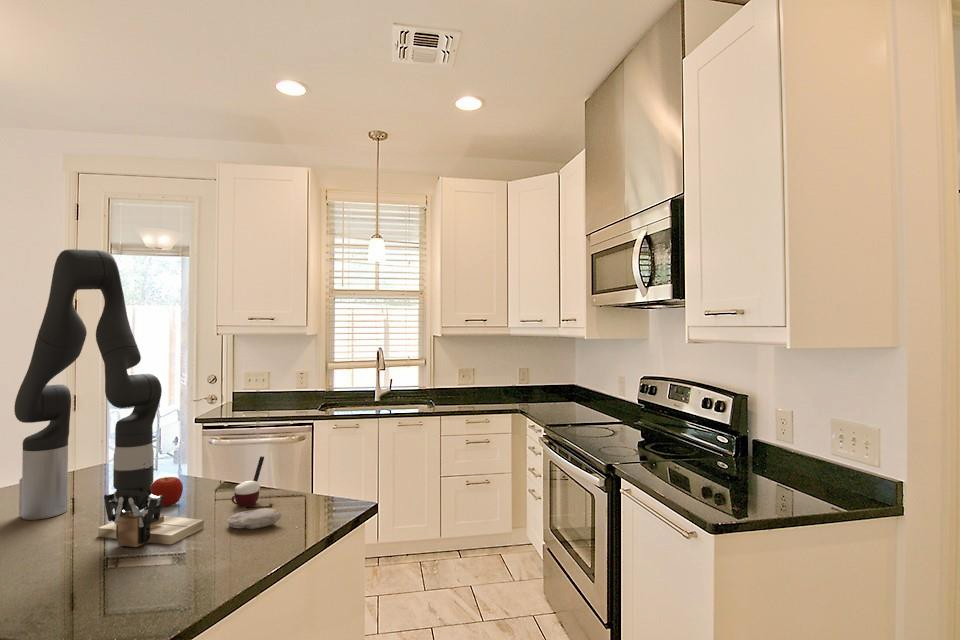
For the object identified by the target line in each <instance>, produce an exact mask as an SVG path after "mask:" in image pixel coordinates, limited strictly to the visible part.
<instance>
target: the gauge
mask: <svg viewBox="0 0 960 640" xmlns="http://www.w3.org/2000/svg"><path fill="white" fill-rule="evenodd" d="M164 516H165V515H160V517H159V521H157V522H154V523H152V524H151V525H150V528H151V527H153V526H156V525H158V524H160V523H162V522H164ZM143 518H144V520H145V516H144V515H143ZM138 527H139V524H138V519H137V518H135V517H134V514H133V512H130V513H129V514H126V515H123V516H122V517H118V541H117V546H122V547H123V546H125V547H131V548H134V547H135V548H137V547H140V546H142V545H144V544H145V543H143V544H139V543H138Z"/></svg>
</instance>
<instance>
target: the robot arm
mask: <svg viewBox="0 0 960 640" xmlns="http://www.w3.org/2000/svg"><path fill="white" fill-rule="evenodd" d="M51 277H52V278H51V284H50V291H49V295H48V299H47V304H46V309H45V311H44V314H43V318H42V321H41V324H40V327H39V329H38V332H37V337H36V340H35V344H34V348H33V352H32V356H31V359H30V363H29V365H28V368H27V370H26V373H25V374H24V375H25V376H24V377H23V380H22V382H21V384H20V387H19V389H18V391H17V394H16V398H15V399H14V400H15V401H14V409H13V410H14V416H15V418H16V419H17V421H19V422H21V423H25V424H26V423H27V424H28V423H32V424H34V423H42V422H49V423H48V425H47V426H46V427H45V426H44V428H43V429H41V430H39V431H37V432H35V433H33V434H30V435H28V436H26V437H25V438H23V441H22V453H21V454H22V459H21V460H22V467H21V468H22V470H21V471H22V472H21V478H20V479H19V482H18V483H19V484H18V485H19V486H18V487H19V488H18V492H19V493H18V494H19V495H18V496H19V497H18V516H19V517H21V519H23V520H26V521H27V520H28V521H29V520H30V521H31V520H43V519H48V518H52V517H56V516H60V515H61V514H65V513H67V511H68V487H69V482H68V481H69V480H68V479H69V474H68V473H69V437H70V425H71V424H70V421H71V410H72V409H71V408H72V395H71V391H70V389H69V387H68V386H67V385H64V384H50V385H49V384H48V383H49V382H50V381H52V379H54V378H55V377H56V376H58V375H59V374H60V373H62V372H63V371H64V370H65V369H67V368H68V367H69V366H71V365H72V364H73V363H74V362H75V361H76V360H77V359H78V358H79V357H80V355H81V353H82V350H83V348H84V347H83V346H84V344H85V342H86V338H87V327H86V325H85V323H84V321H83V320H82V319H83V318H81V316H80V315H79V313H78V312H77V310H76V308H75V306H74V297H75V294H76V292H77V291H79V290H84V291H86V290H100V292H101V294H102V297H103V299H104V306H103V310H102V313H101V314H100V315H101V316H100V317H99V320H98V323H97V325H96V329H95V340H96V344H97V347H98V349H99V353H100V355H101V359H102V361H103V364H104V394H105V397H106V399H107V401H108V403H109V404H111V406H113V407H114V408H117V409H125V408H132V407H133V409H132V412H131V413H130V414H129V415H128V416H125V417H123V418H120V419H119V420H117V422H116V423H115V427H114V428H115V429H114V453H113V468H112V469H113V474H112V476H113V479H112V480H113V481H112V482H113V485H112V486H113V488H114V489H115V491H113V492H110V493H107V494H105V495H104V496H103V499H104V504H105V505H104V506H105V511H106V515H107V516H106V517H107V520H108V522H114V523H115V525H116V537H117V539H116V541H117V542H118V517H122V516H123V515H126V514H129V513H130V512H133V514H134V517H135V518H137V519H138V524H139V527H138V543H139V544H142V545H144V544H146V543H149V542H148V540H149V539H150V525H151V524H152V523H154V522H157V521H159V517H160V516H161V512H162V508H163V507H162V503H163V496H162V495H160V496H155V495H152V492H151V488H150V487H151V485H152V483H153V482H154V473H155V472H154V467H155V466H154V465H155V463H154V461H155V460H154V459H155V458H154V457H155V456H154V453H155V452H154V446H153V444H154V443H153V442H154V441H153V438H154V437H153V434H154V433H153V424H154V421H155V418H156V415H157V411H158V409H159V408H158V407H159V405H160V401H161V398H162V391H163V390H162V384H161V382H160V380H159V378H158V377H157V376H156V375H154V374H151V373H139V374H130V375H129V373H128V370H129V369H132V368H134V367H136V366H137V365H138V364H140V362H141V360H142V357H141V351H140V350H139V347H138V344H137V342H136V341H137V340H136V338H135V336H134V334H133V331H132V327H131V326H130V321H129V318H128V313H127V308H126V307H127V306H126V302H125V301H126V300H125V293H124V290H123V285H122V281H121V274H120V270H119V267H118V264H117V261H116V260H115V257H114V256H113V255H112V254H111V253H110V252H108V251H105V250H97V249H96V250H95V249H92V250H91V249H79V248H78V249H76V248H75V249H73V248H72V249H71V248H70V249H64V250H62V251H61V252H60V253H59V254H58V256H57V257H56V260H55V263H54V268H53V272H52V276H51ZM143 515H144V516H145V520H144V518H143ZM153 515H154V516H153ZM143 543H144V544H143Z"/></svg>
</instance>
